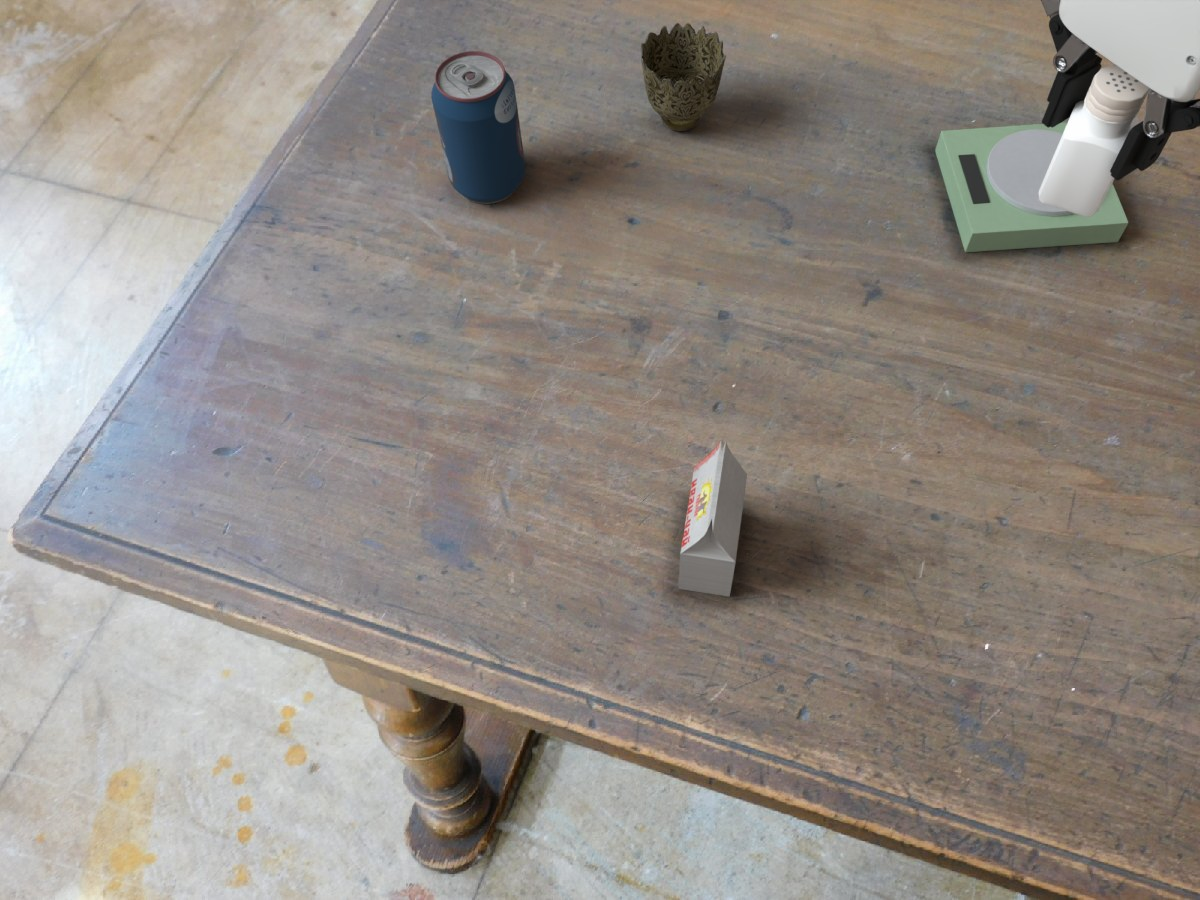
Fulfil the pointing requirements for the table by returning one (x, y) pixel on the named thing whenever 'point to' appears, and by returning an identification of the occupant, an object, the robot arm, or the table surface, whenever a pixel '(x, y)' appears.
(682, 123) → the cup
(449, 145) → the soda can
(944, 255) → the table surface
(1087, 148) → the pepper shaker
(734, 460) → the grey upright carton
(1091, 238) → the kitchen scale
